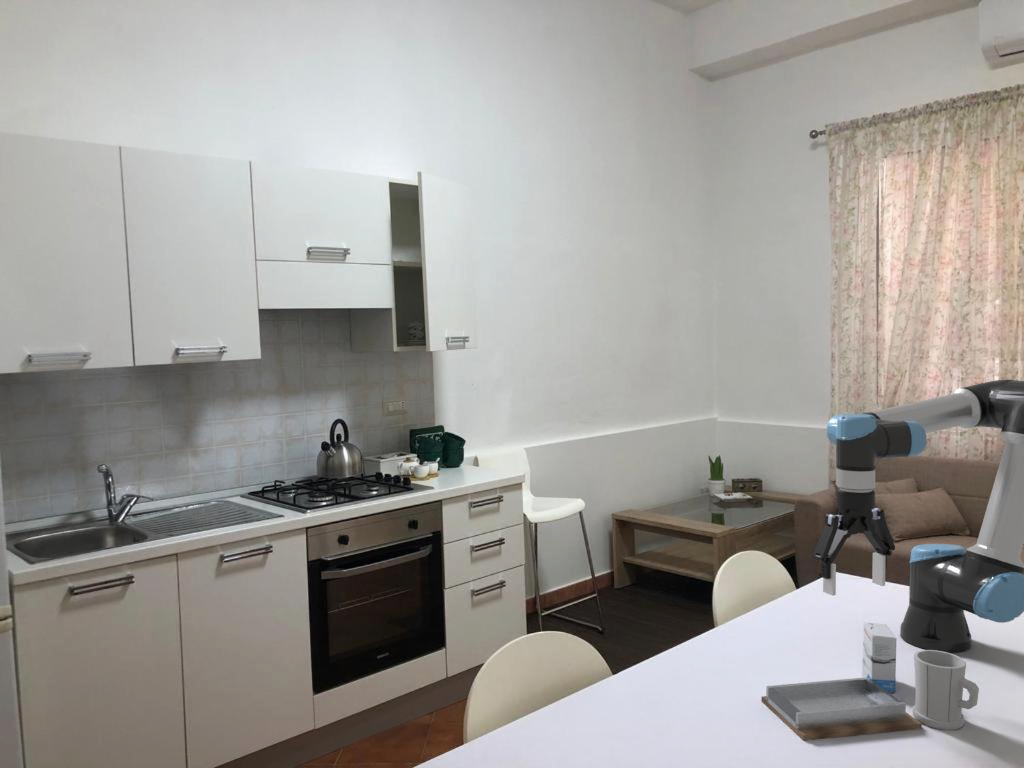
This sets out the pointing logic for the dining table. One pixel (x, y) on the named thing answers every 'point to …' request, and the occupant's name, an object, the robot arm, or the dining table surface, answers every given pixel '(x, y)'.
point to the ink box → (879, 655)
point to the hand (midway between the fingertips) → (854, 588)
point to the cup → (941, 689)
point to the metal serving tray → (834, 703)
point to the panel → (850, 727)
